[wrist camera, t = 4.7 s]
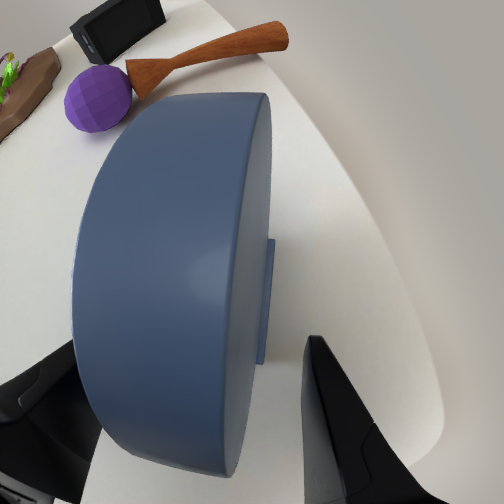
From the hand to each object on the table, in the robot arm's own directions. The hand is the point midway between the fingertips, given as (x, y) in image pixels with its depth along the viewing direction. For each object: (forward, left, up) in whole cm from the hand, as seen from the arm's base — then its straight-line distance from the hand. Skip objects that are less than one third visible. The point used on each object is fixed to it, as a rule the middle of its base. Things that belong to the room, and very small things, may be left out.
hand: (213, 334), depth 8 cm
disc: (+2, 0, -7) cm, 7 cm away
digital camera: (+25, +26, -7) cm, 37 cm away
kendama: (+17, +12, -7) cm, 22 cm away
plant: (+14, +44, -7) cm, 47 cm away
